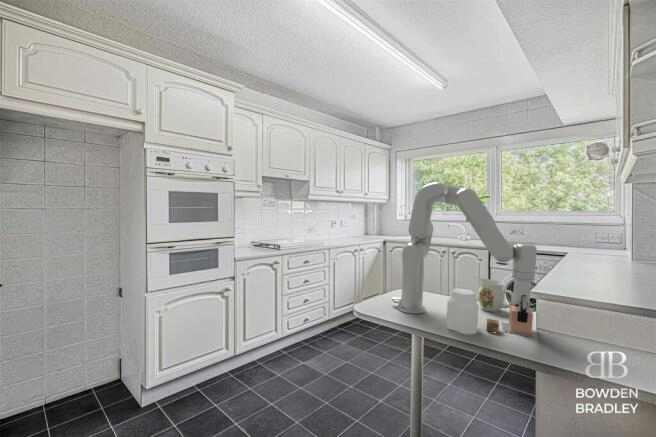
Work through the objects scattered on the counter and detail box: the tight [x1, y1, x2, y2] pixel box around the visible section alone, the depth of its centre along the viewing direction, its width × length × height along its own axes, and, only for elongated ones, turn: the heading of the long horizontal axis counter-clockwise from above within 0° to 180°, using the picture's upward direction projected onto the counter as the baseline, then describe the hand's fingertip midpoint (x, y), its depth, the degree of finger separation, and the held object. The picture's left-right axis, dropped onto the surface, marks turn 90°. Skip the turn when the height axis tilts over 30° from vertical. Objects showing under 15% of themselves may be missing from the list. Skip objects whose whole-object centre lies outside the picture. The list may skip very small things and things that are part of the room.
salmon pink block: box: [508, 305, 534, 334], centre depth 126 cm, size 7×7×8 cm
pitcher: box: [474, 277, 515, 313], centre depth 149 cm, size 11×18×14 cm, turn 40°
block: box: [486, 318, 500, 334], centre depth 125 cm, size 4×4×4 cm
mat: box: [501, 322, 534, 338], centre depth 127 cm, size 10×10×1 cm
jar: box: [445, 288, 480, 335], centre depth 126 cm, size 12×10×15 cm
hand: (520, 317), depth 126 cm, fingers open, 9 cm apart
